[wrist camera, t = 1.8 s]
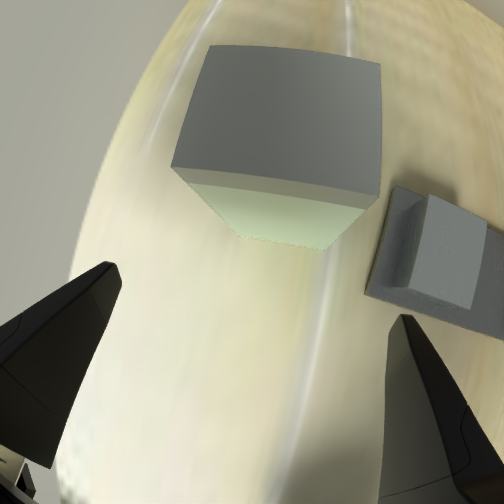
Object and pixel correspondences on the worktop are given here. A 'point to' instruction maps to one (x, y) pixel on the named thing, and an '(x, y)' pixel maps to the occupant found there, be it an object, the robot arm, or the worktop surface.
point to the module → (284, 142)
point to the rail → (485, 284)
